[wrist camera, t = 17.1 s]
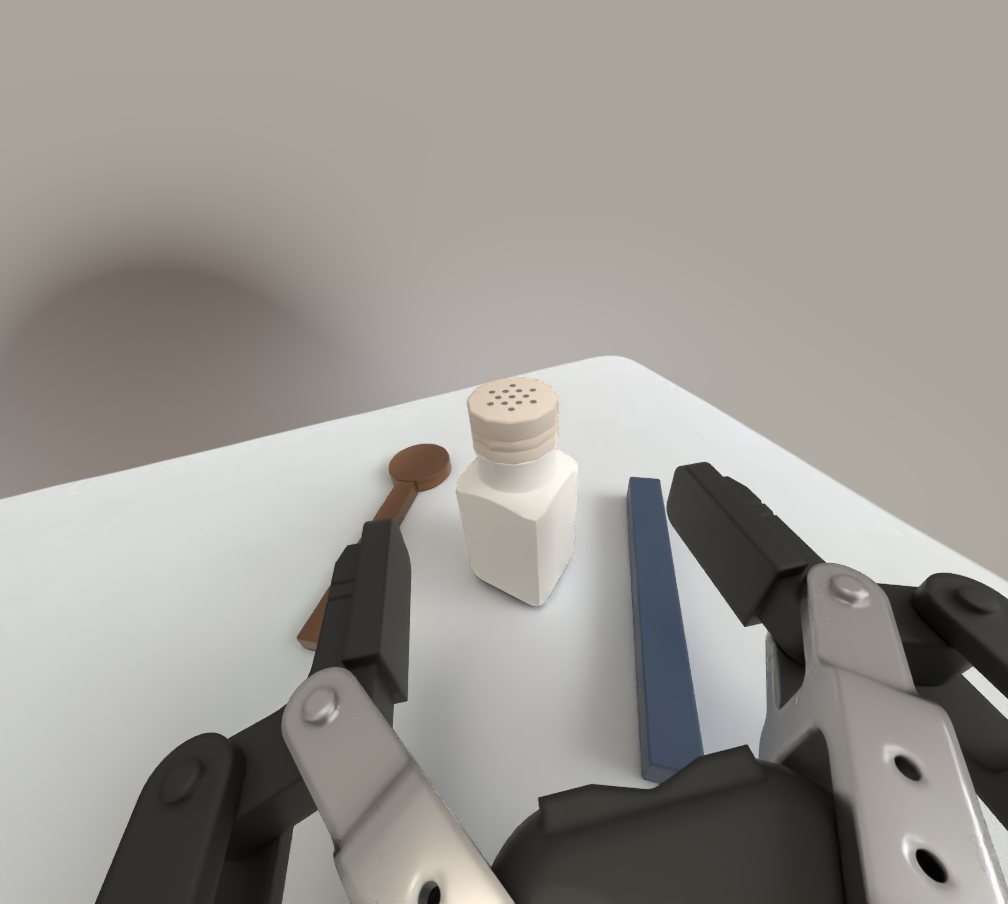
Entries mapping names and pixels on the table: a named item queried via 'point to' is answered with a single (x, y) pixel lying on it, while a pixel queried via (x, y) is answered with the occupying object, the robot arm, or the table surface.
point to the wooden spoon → (394, 506)
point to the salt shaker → (518, 489)
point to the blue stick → (659, 640)
